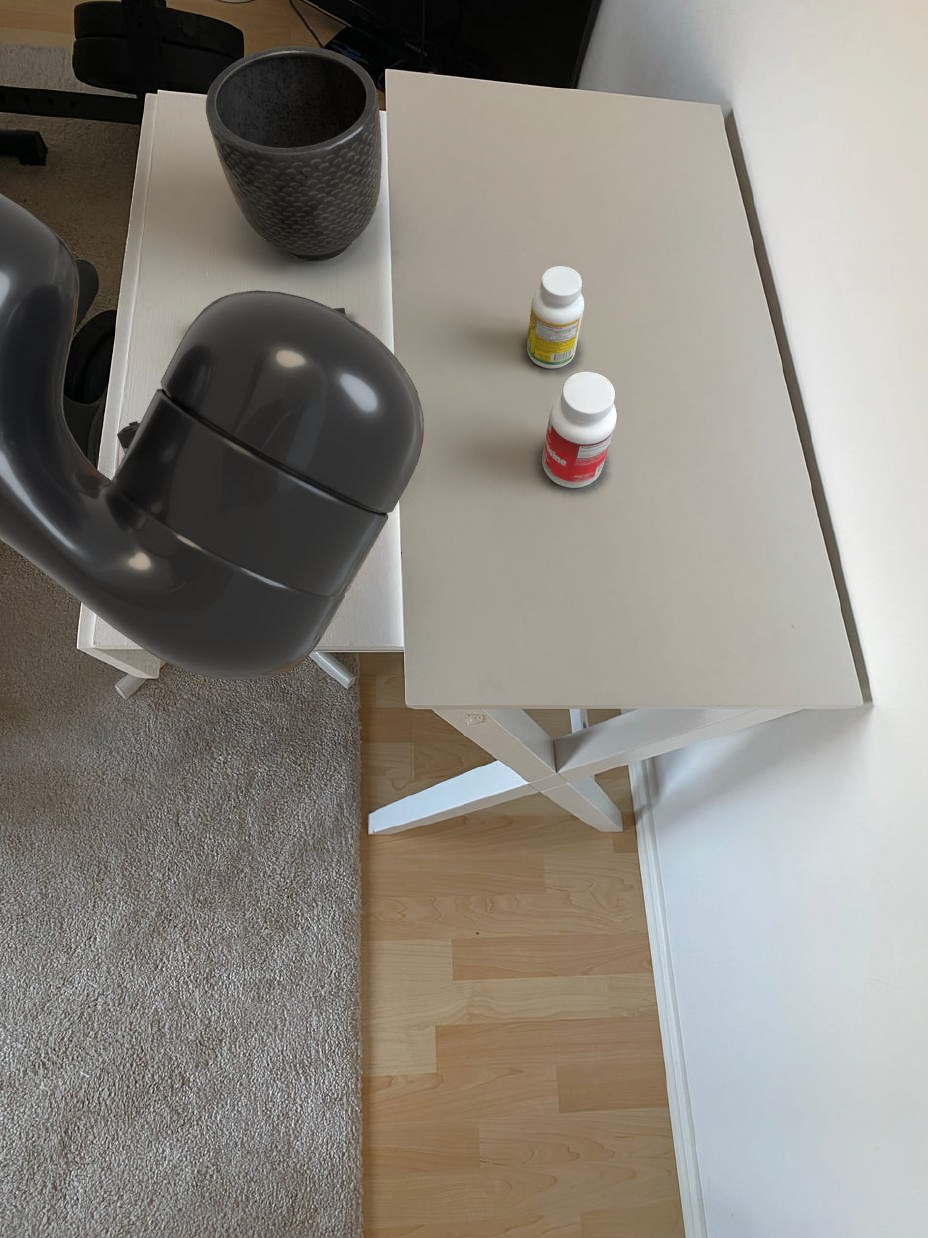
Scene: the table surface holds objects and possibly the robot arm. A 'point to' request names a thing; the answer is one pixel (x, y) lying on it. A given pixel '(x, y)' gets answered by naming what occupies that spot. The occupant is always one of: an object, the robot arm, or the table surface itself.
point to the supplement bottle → (555, 318)
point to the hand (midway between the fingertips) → (249, 408)
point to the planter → (299, 146)
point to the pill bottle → (579, 430)
